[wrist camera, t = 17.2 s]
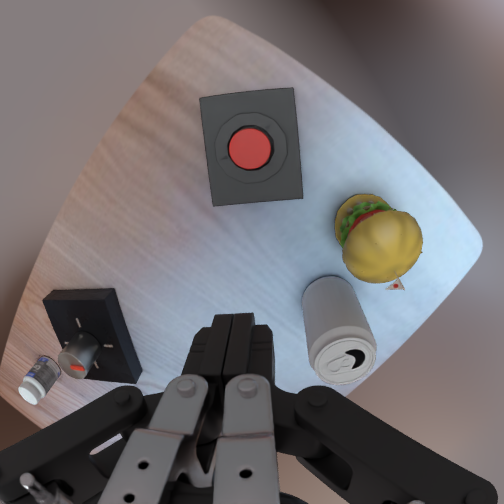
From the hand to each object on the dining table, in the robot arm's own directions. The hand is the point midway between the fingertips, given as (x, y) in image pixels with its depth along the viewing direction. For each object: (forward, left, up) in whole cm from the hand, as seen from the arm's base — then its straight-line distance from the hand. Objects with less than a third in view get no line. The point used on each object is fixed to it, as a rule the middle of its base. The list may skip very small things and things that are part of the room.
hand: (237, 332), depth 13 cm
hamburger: (-3, -11, -23) cm, 26 cm away
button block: (+6, 0, -23) cm, 24 cm away
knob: (-16, +25, -20) cm, 36 cm away
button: (+6, 0, -19) cm, 20 cm away
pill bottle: (-24, +39, -23) cm, 51 cm away
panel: (-16, +25, -23) cm, 38 cm away
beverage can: (-12, -7, -23) cm, 27 cm away
